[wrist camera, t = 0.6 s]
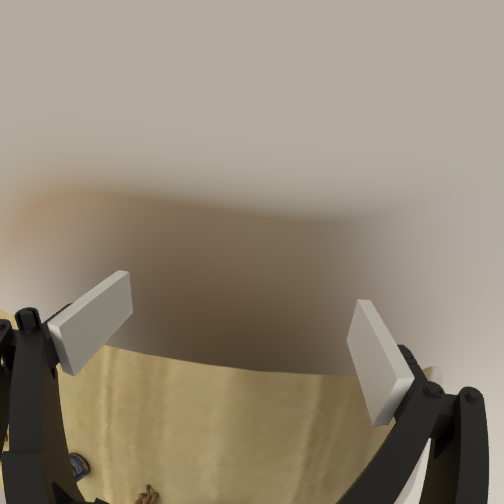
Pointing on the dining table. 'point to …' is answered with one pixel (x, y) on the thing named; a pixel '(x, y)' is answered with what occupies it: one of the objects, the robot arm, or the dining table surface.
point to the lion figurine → (151, 503)
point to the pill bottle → (78, 466)
